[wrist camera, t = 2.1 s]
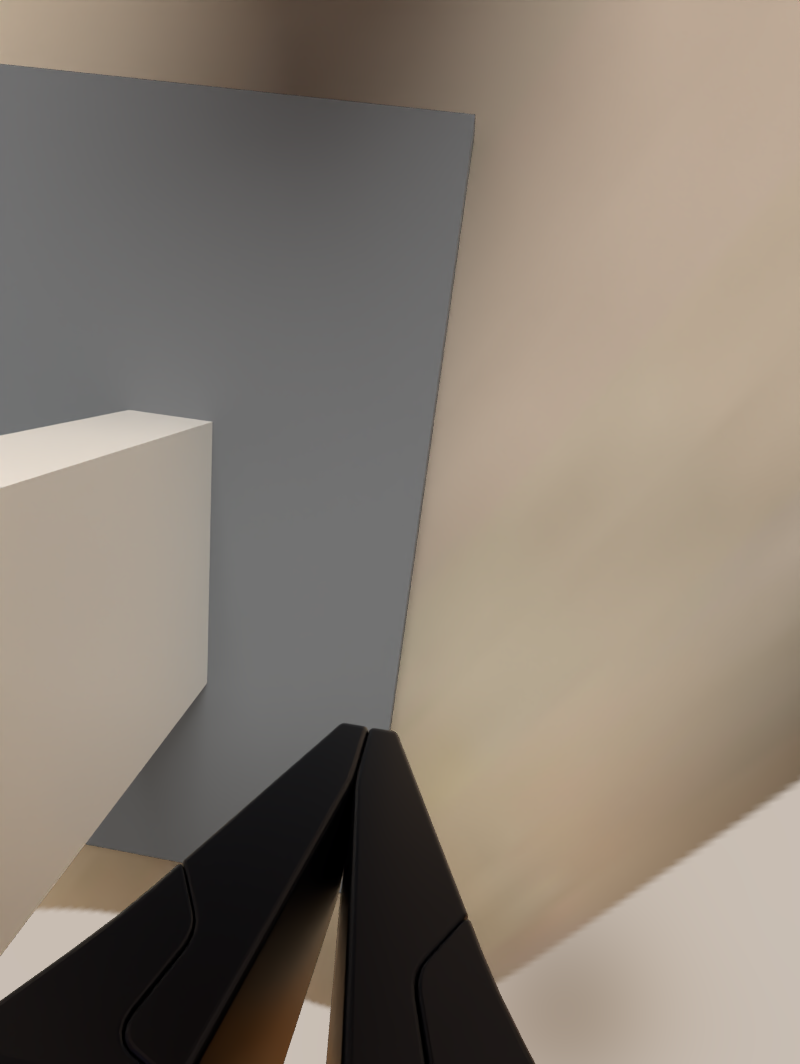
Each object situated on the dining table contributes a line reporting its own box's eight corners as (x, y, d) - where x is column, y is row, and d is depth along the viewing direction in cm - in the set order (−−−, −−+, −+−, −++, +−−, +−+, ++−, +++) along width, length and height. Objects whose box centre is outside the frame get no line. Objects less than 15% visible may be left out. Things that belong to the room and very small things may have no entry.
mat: (474, 135, 12) (475, 114, 11) (371, 863, 19) (365, 897, 17) (-394, 41, 13) (-472, 14, 12) (-210, 754, 20) (-251, 780, 19)
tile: (212, 421, 13) (-227, 558, 5) (207, 683, 16) (-101, 1089, 7) (118, 407, 14) (-468, 519, 5) (126, 669, 16) (-271, 1052, 7)
